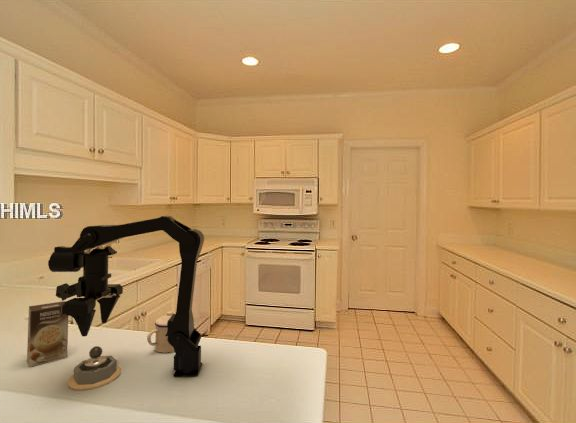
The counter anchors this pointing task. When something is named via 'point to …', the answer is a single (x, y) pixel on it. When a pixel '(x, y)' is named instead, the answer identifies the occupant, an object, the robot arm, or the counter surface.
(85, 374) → the grey bowl
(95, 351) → the plunger
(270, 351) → the counter surface
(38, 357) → the coffee box
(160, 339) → the teacup with lid
